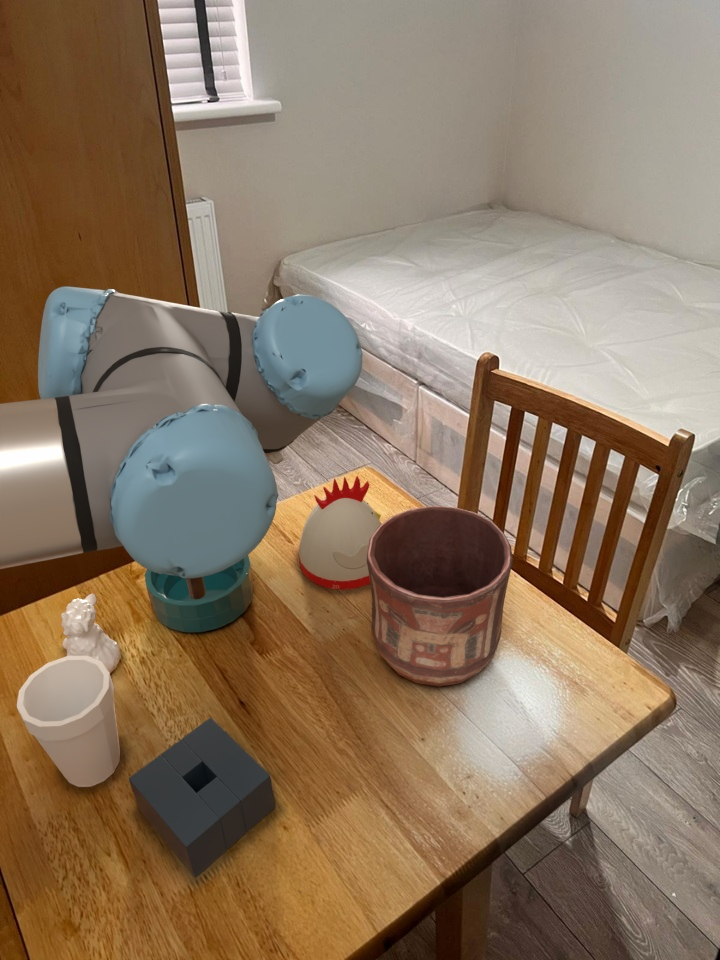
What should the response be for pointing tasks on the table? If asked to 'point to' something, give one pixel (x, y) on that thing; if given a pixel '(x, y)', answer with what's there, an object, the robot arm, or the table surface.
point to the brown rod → (196, 587)
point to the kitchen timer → (339, 538)
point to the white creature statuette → (88, 634)
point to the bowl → (214, 610)
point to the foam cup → (73, 717)
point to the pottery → (438, 592)
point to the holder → (203, 795)
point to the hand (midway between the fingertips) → (162, 507)
